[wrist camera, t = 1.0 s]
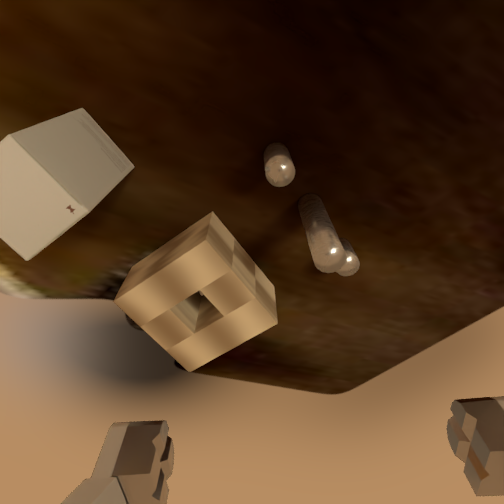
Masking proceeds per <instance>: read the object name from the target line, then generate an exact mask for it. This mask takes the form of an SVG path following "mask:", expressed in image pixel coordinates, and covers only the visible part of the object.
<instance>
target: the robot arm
mask: <svg viewBox="0 0 504 504" xmlns="http://www.w3.org/2000/svg"><path fill="white" fill-rule="evenodd" d="M451 411H452V413H453V416H452V417H451V418H450V419H449V420H448V424H447V434H448V440H449V443H450V445H451V448H452V450H453V452H454V454H455V456H457V457H458V458H459V459H460V460H462V461H463V462H464V463H465V467H464V473H465V475H466V477H467V479H468V481H469V483H470V485H471V486H472V488H473V490H474V492H475V494H476V496H497V495H498V496H499V495H504V396H502V397H491V398H490V397H484V398H471V399H459V400H454V401H453V402H452V405H451ZM168 430H169V427H168V424H167V421H165V420H163V421H140V422H121V423H113V424H112V425H111V427H110V428H109V431H108V433H107V436H106V438H105V441H104V444H103V446H102V449H101V452H100V454H99V457H98V460H97V463H96V465H95V468H94V471H93V473H92V476H91V478H90V479H85V480H84V481H83V482H82V483H81V484H80V485H79V486H78V487H77V488H76V489H75V490H74V491H73V492H72V493H71V494H70V495H69V496H68V497H67V498H66V499H65V500H64V501H63V502H62V503H61V504H166V503H167V497H168V492H169V489H168V486H167V482H166V480H167V479H168V478H169V477H170V476H171V474H172V470H173V464H174V448H173V442H172V439H171V438H170V437H169V436H167V435H168Z"/></svg>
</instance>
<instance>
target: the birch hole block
mask: <svg viewBox="0 0 504 504" xmlns="http://www.w3.org/2000/svg"><path fill="white" fill-rule="evenodd" d="M199 290H200V291H201V292H202V293H203V294H204V295H203V296H201V295H200V294H199V293H198V292H197V291H199ZM113 302H114V303H115V304H116V305H117V306H118V307H119V308H120V309H122V310H123V311H124V312H125V313H126V314H127V315H128V316H129V317H130V318H131V319H132V320H133V321H135V322H136V323H137V324H138V325H139V326H140V327H141V328H142V329H143V330H144V331H145V332H146V333H148V334H149V335H150V336H151V337H152V338H153V339H154V340H155V341H156V342H157V343H158V344H160V346H162V347H163V348H164V349H165V350H166V351H167V352H168V353H169V354H170V355H171V356H172V357H174V359H176V360H177V361H178V362H179V363H180V364H181V365H182V366H183V367H184V368H185V369H186V370H187V371H188V372H191V371H193V370H195V369H196V368H198V367H200V366H202V365H204V364H205V363H207V362H209V361H211V360H213V359H214V358H216V357H218V356H220V355H222V354H224V353H225V352H227V351H229V350H231V349H233V348H234V347H236V346H238V345H240V344H242V343H243V342H245V341H247V340H249V339H251V338H252V337H254V336H256V335H258V334H260V333H261V332H263V331H265V330H267V329H269V328H270V327H272V326H274V325H276V324H278V321H277V311H276V300H275V290H274V286H273V284H272V283H271V282H270V281H269V280H268V278H267V277H266V276H265V275H264V273H263V272H262V271H261V270H260V269H259V267H258V266H257V265H256V264H255V262H254V261H253V260H252V259H251V258H250V256H249V255H248V254H247V253H246V251H245V250H244V249H243V248H242V247H241V245H240V244H239V243H238V242H237V240H236V239H235V238H234V237H233V236H232V234H231V233H230V232H229V231H228V229H227V228H226V227H225V226H224V225H223V223H222V222H221V221H220V220H219V218H218V217H217V216H216V215H215V214H214V212H213V211H212V212H211V213H209V214H208V215H206V216H205V217H203V218H202V219H200V220H199V221H197V222H196V223H195V224H193V225H192V226H190V227H189V228H187V229H186V230H184V231H183V232H182V233H180V234H179V235H177V236H176V237H174V238H173V239H171V240H170V241H168V242H167V243H166V244H164V245H163V246H161V247H160V248H158V249H157V250H155V251H154V252H152V253H151V254H150V255H148V256H147V257H145V258H144V259H142V260H141V261H139V262H138V263H136V264H135V265H134V266H132V268H131V269H130V271H129V273H128V275H127V277H126V279H125V280H124V282H123V284H122V286H121V288H120V290H119V292H118V293H117V295H116V297H115V299H114V301H113Z"/></svg>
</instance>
